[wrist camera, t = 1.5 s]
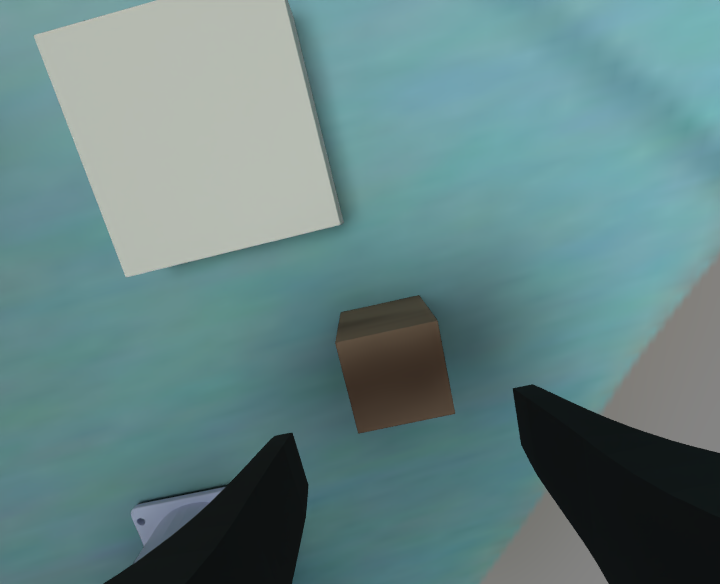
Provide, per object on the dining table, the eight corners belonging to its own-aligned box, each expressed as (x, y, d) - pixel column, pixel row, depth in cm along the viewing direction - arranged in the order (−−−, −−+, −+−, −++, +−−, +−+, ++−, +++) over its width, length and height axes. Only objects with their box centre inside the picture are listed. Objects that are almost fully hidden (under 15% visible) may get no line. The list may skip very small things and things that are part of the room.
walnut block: (433, 367, 21) (455, 413, 17) (358, 383, 22) (358, 433, 17) (418, 295, 20) (437, 320, 16) (340, 312, 21) (335, 342, 16)
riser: (344, 222, 20) (340, 224, 16) (170, 265, 20) (125, 277, 16) (294, 20, 18) (276, -34, 14) (103, 73, 18) (33, 35, 14)
